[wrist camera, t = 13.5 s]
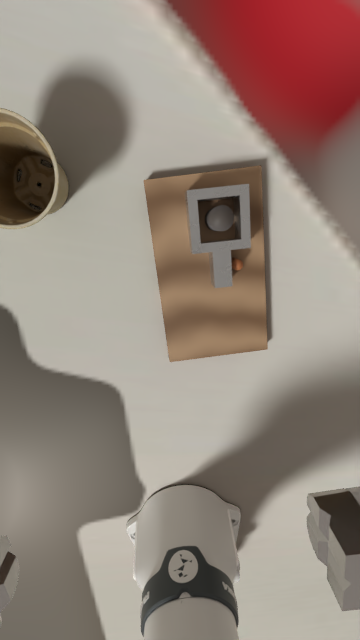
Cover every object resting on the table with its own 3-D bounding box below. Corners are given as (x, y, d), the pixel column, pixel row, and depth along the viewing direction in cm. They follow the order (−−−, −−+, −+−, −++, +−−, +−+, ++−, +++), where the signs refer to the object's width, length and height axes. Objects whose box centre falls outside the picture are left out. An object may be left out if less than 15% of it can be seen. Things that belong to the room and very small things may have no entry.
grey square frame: (184, 193, 33) (186, 190, 30) (241, 187, 33) (249, 183, 30) (193, 285, 36) (195, 290, 33) (245, 279, 36) (251, 284, 33)
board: (263, 345, 41) (278, 362, 35) (169, 357, 40) (170, 376, 35) (257, 168, 34) (274, 156, 29) (144, 182, 34) (140, 173, 28)
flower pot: (79, 137, 32) (50, 106, 24) (88, 228, 35) (64, 228, 27) (-9, 137, 32) (-70, 106, 24) (7, 229, 35) (-43, 229, 26)
